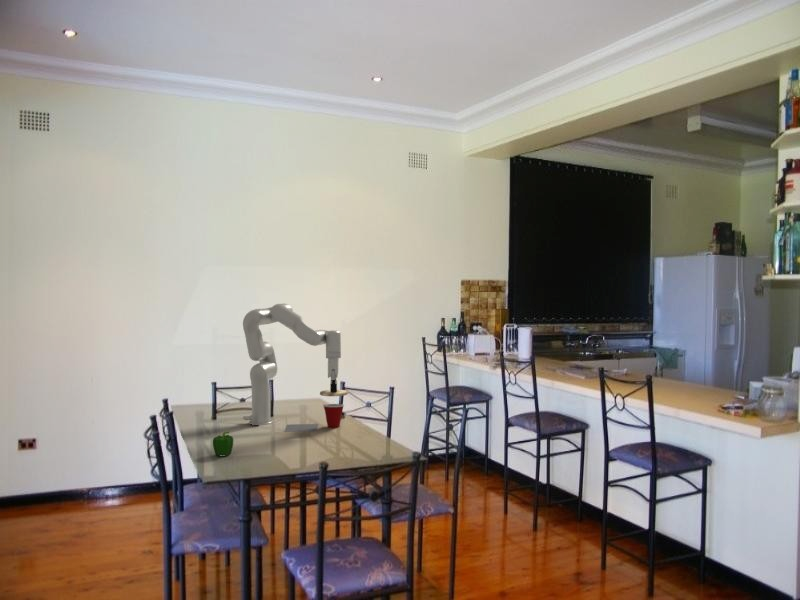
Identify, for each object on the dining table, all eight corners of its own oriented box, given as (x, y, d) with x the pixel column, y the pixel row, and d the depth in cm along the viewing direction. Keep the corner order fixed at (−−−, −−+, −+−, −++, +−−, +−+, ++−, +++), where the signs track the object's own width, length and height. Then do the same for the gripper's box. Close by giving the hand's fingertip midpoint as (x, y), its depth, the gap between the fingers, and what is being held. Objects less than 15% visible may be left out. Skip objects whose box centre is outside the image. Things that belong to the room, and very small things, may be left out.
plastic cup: (346, 425, 312) (346, 402, 311) (342, 430, 301) (342, 406, 301) (325, 425, 313) (325, 402, 312) (320, 430, 302) (320, 406, 302)
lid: (319, 396, 299) (319, 382, 298) (320, 391, 313) (320, 378, 312) (347, 395, 300) (347, 381, 300) (347, 391, 314) (347, 377, 314)
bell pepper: (212, 458, 251) (212, 434, 251) (213, 453, 259) (212, 430, 259) (233, 457, 254) (233, 433, 254) (233, 452, 262) (233, 429, 261)
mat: (284, 433, 295) (284, 431, 295) (287, 425, 311) (287, 424, 311) (317, 432, 297) (317, 431, 297) (318, 425, 313) (318, 423, 313)
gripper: (326, 353, 314) (326, 388, 314) (325, 356, 297) (325, 394, 298) (340, 353, 314) (341, 388, 315) (340, 356, 298) (341, 393, 298)
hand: (333, 390), depth 306 cm, fingers closed on lid, 3 cm apart
